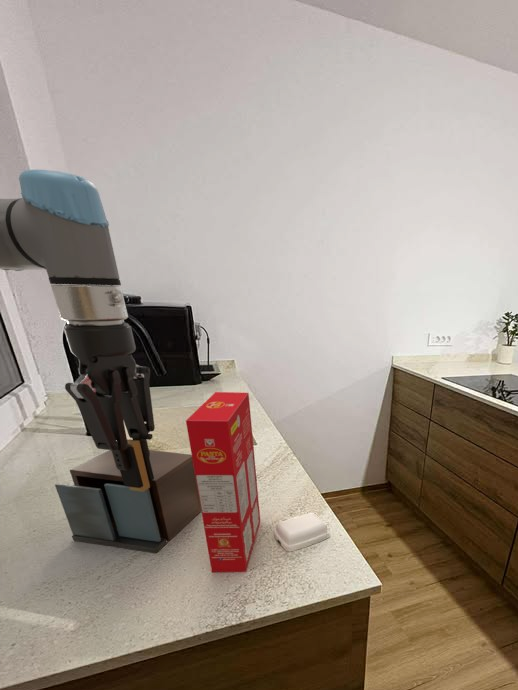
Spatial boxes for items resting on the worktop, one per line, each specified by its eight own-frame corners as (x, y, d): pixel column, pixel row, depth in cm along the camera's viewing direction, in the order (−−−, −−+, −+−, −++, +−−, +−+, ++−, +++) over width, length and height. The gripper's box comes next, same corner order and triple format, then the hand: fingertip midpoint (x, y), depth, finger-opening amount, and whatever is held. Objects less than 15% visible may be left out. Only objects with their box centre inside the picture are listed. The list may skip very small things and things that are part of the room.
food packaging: (232, 521, 74) (215, 392, 63) (260, 521, 75) (248, 392, 63) (211, 572, 61) (185, 420, 50) (245, 571, 61) (227, 421, 50)
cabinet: (73, 540, 67) (50, 478, 61) (131, 500, 80) (117, 446, 74) (156, 553, 65) (140, 490, 59) (203, 509, 77) (193, 454, 72)
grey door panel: (116, 537, 66) (87, 439, 58) (123, 532, 68) (95, 435, 59) (157, 543, 65) (132, 444, 57) (163, 538, 66) (140, 440, 58)
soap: (287, 553, 66) (286, 539, 65) (271, 534, 71) (270, 520, 69) (332, 537, 71) (332, 523, 69) (314, 520, 76) (314, 507, 74)
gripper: (74, 328, 43) (127, 508, 54) (159, 319, 56) (188, 465, 67) (17, 326, 44) (80, 502, 55) (114, 317, 58) (149, 461, 68)
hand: (139, 482), depth 61 cm, fingers closed on grey door panel, 2 cm apart
